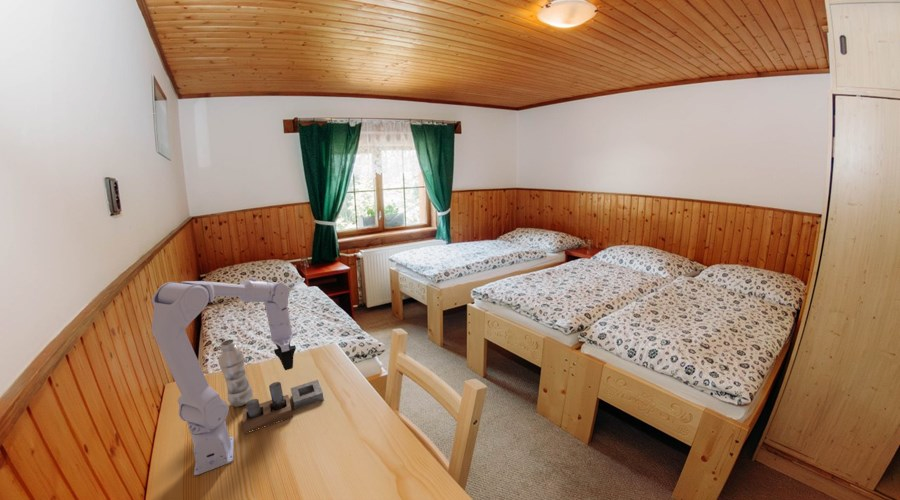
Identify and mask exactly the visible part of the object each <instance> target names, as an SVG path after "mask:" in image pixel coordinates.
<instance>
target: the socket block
mask: <svg viewBox="0 0 900 500" xmlns="http://www.w3.org/2000/svg"><path fill="white" fill-rule="evenodd" d="M321 387H322V386H321V385H320V382H319V380H318V379H315V380H313V381H308V382H306V383H303V384H300V385H296V386H292V387H290V392H291V397H292V402H293V406H294V410H296V411H297V410H300V409H302V408H304V407H308V406H310V405H313V404H317V403H319V402H322V401H324V394H323V393H324V392H323V390H322V388H321Z"/></svg>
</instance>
